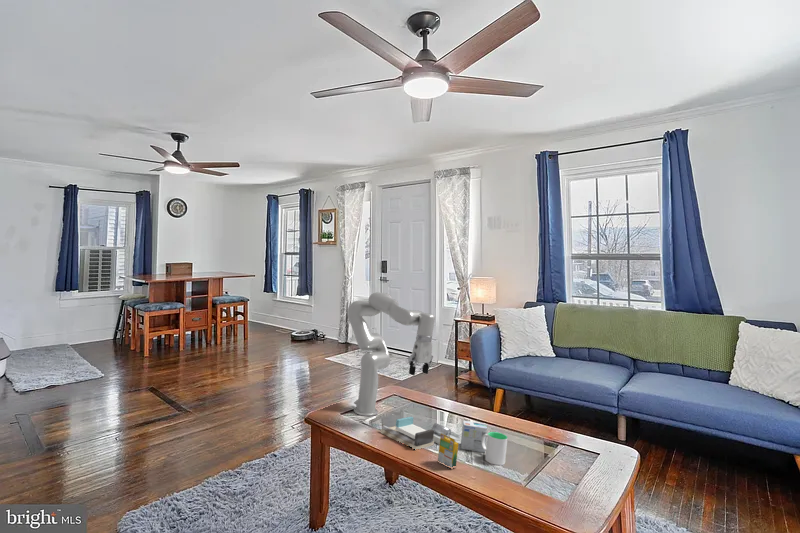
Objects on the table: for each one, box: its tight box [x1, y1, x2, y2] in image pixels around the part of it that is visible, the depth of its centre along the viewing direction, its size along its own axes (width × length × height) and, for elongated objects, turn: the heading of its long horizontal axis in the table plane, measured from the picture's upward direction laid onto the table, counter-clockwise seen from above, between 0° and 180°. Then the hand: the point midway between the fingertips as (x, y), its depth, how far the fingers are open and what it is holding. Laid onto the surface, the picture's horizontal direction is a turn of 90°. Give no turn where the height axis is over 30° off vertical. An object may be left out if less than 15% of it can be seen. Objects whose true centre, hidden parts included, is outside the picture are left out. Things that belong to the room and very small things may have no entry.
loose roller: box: [431, 422, 452, 438], centre depth 184 cm, size 8×4×4 cm, turn 45°
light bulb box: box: [460, 419, 488, 453], centre depth 177 cm, size 11×7×11 cm, turn 84°
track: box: [380, 425, 435, 451], centre depth 178 cm, size 22×12×6 cm, turn 45°
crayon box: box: [437, 433, 459, 467], centre depth 156 cm, size 7×3×12 cm, turn 43°
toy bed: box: [395, 416, 428, 440], centre depth 176 cm, size 12×10×6 cm
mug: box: [482, 431, 508, 466], centre depth 167 cm, size 12×8×10 cm
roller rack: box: [433, 429, 461, 445], centre depth 184 cm, size 12×14×2 cm
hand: (418, 373), depth 191 cm, fingers open, 9 cm apart
